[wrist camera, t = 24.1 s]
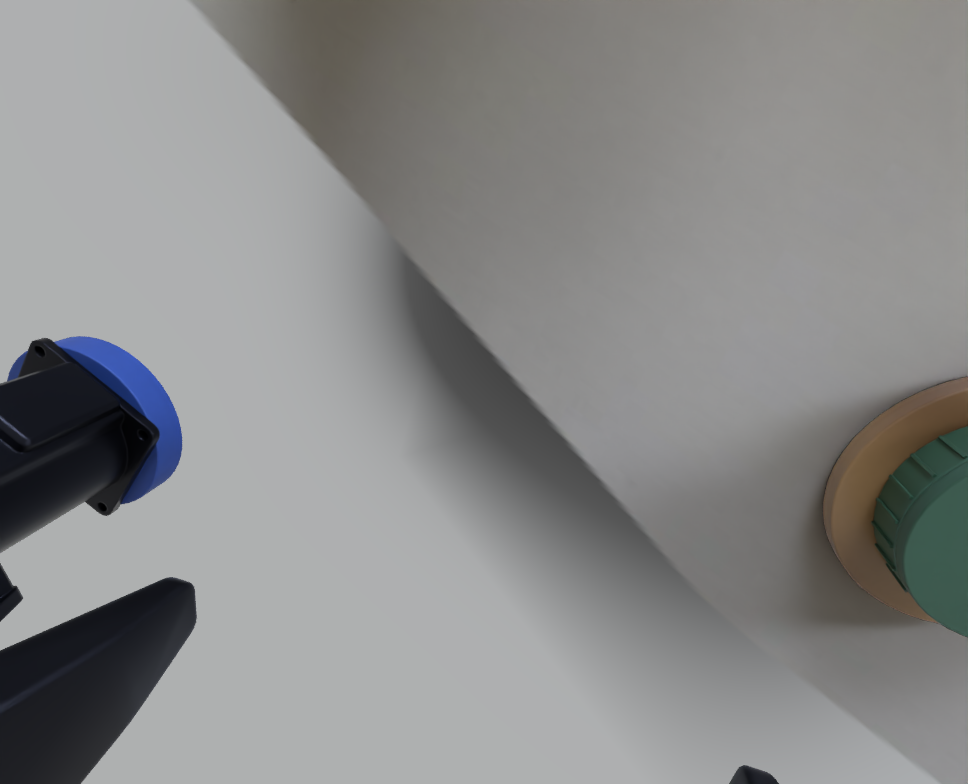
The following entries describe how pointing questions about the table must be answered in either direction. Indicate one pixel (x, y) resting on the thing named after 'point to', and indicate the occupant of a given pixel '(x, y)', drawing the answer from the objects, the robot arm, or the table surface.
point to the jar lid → (929, 528)
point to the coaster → (867, 474)
